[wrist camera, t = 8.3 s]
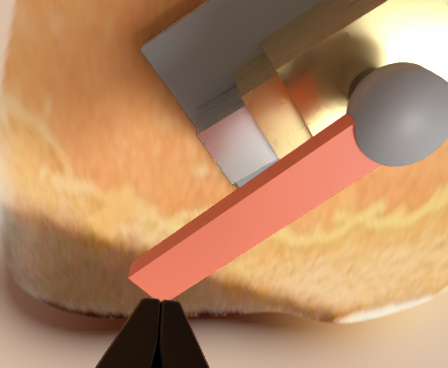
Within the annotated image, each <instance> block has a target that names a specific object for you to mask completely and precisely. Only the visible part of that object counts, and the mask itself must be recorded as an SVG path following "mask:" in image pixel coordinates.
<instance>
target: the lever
mask: <svg viewBox="0 0 448 368" xmlns="http://www.w3.org/2000/svg"><path fill="white" fill-rule="evenodd" d="M447 137H448V81H447V80H445V79H444V78H443V77H441V76H439V75H438V74H436V73H434V72H432V71H430V70H429V69H427V68H425V67H423V66H421V65H419V64H416V63H412V62H395V63H391V64H387V65H385V66H382V67H380V68H378V69H376V70H374V71H373V72H371V73H370V74H369V75H367V76H366V77H365V78H364V79H363V80H362V81H361V82H360V83H359V84H358V86H357V87H356V88H355V90H354V91H353V93H352V95H351V97H350V99H349V102H348V104H347V109H346V114H345V115H343V116H342V117H340V118H339V119H337V120H336V121H334V122H333V123H332V124H330V125H329V126H327V127H326V128H324V129H323V130H322V131H320V132H319V133H317V134H316V135H314V136H313V137H311V138H310V139H309V140H307V141H306V142H304V143H303V144H301V145H300V146H299V147H297V148H296V149H294V150H293V151H291V152H290V153H288V154H287V155H286V156H284V157H283V158H281V159H280V160H278V161H277V162H276V163H274V164H273V165H271V166H270V167H268V168H267V169H265V170H264V171H263V172H261V173H260V174H258V175H257V176H255V177H254V178H253V179H251V180H250V181H248V182H247V183H245V184H244V185H242V186H241V187H240V188H238V189H237V190H235V191H234V192H232V193H231V194H230V195H228V196H227V197H225V198H224V199H222V200H221V201H219V202H218V203H217V204H215V205H214V206H212V207H211V208H209V209H208V210H207V211H205V212H204V213H202V214H201V215H199V216H198V217H196V218H195V219H194V220H192V221H191V222H189V223H188V224H186V225H185V226H184V227H182V228H181V229H179V230H178V231H176V232H175V233H173V234H172V235H171V236H169V237H168V238H166V239H165V240H163V241H162V242H161V243H159V244H158V245H156V246H155V247H153V248H152V249H150V250H149V251H148V252H146V253H145V254H143V255H142V256H140V257H139V258H138V259H136V260H135V261H133V262H132V263H131V266H130V271H129V276H128V278H129V279H130V280H131V281H133V282H134V283H135V284H136V285H138V286H139V287H140V288H141V289H143V290H144V291H145V292H147V293H148V294H149V295H150V296H152V297H153V298H157V299H160V301H162V300H164V299H166V300H171V299H173V298H174V297H176V296H177V295H179V294H180V293H182V292H184V291H185V290H187V289H188V288H190V287H191V286H193V285H194V284H196V283H198V282H199V281H201V280H202V279H204V278H205V277H207V276H209V275H210V274H212V273H213V272H215V271H216V270H218V269H219V268H221V267H223V266H224V265H226V264H227V263H229V262H230V261H232V260H234V259H235V258H237V257H238V256H240V255H241V254H243V253H244V252H246V251H248V250H249V249H251V248H252V247H254V246H255V245H257V244H259V243H260V242H262V241H263V240H265V239H266V238H268V237H269V236H271V235H273V234H274V233H276V232H277V231H279V230H280V229H282V228H284V227H285V226H287V225H288V224H290V223H291V222H293V221H294V220H296V219H298V218H299V217H301V216H302V215H304V214H305V213H307V212H309V211H310V210H312V209H313V208H315V207H316V206H318V205H319V204H321V203H323V202H324V201H326V200H327V199H329V198H330V197H332V196H334V195H335V194H337V193H338V192H340V191H341V190H343V189H344V188H346V187H348V186H349V185H351V184H352V183H354V182H355V181H357V180H359V179H360V178H362V177H363V176H365V175H366V174H368V173H370V172H371V171H373V170H374V169H376V168H377V167H379V166H380V165H384V166H396V167H397V166H405V165H409V164H412V163H415V162H418V161H420V160H422V159H424V158H426V157H427V156H429V155H430V154H432V153H433V152H434V151H435V150H437V149H438V148H439V147H440V146H441V145H442V144H443V143H444V141H445V140H446V139H447Z"/></svg>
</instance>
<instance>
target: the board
mask: <svg viewBox="0 0 448 368" xmlns="http://www.w3.org/2000/svg"><path fill="white" fill-rule="evenodd" d="M322 1H323V0H206V1H205V2H203V3H202V4H200V5H199V6H198V7H196V8H195V9H193V10H192V11H190V12H189V13H187V14H186V15H185V16H183V17H182V18H180V19H179V20H177V21H176V22H174V23H173V24H172V25H170V26H169V27H167V28H166V29H164V30H163V31H162V32H160V33H159V34H157V35H156V36H154V37H153V38H151V39H150V40H149V41H147V42H146V43H144V44H143V45H142V47H141V49H140V51H141V52H142V53H143V55H144V56H145V58H146V59H147V60H148V62H149V63H150V64H151V66H152V67H153V69H154V70H155V71H156V73H157V74H158V76H159V77H160V78H161V80H162V81H163V83H164V84H165V85H166V87H167V88H168V90H169V91H170V92H171V94H172V95H173V96H174V98H175V99H176V101H177V102H178V103H179V105H180V106H181V108H182V109H183V110H184V112H185V113H186V115H187V116H188V117H189V119H190V120H191V122H192V123H193V124H194V126H195V127H196V111H197V110H199V109H200V108H202V107H203V106H205V105H207V104H208V103H210V102H211V101H213V100H215V99H216V98H218V97H219V96H221V95H223V94H224V93H226V92H227V91H229V90H231V89H232V88H234V87H235V86H237V83H236V79H235V76H234V71H235V70H237V69H238V68H240V67H241V66H243V65H245V64H246V63H248V62H249V61H251V60H252V59H254V58H256V57H257V56H259V55H260V54H262V53H263V52H264V51H263V49H262V47H261V45H260V43H259V42H260V41H261V40H263V39H264V38H266V37H267V36H269V35H270V34H272V33H273V32H275V31H277V30H278V29H280V28H281V27H283V26H284V25H286V24H287V23H289V22H291V21H292V20H294V19H295V18H297V17H298V16H300V15H301V14H303V13H304V12H306V11H308V10H309V9H311V8H312V7H314V6H315V5H317V4H318V3H320V2H322ZM278 160H280V159H279V158H278V159H276V160H274V161H273V162H271V163H269V164H267V165H265V166H264V167H262V168H260V169H258V170H257V171H255V172H253V173H251V174H250V175H248V176H246V177H244V178H242V179H241V180H239V181H237V182H235V183H236V184H237V186H238V187H239V188H240V187H241V186H242V185H244V184H245V183H247V182H248V181H250V180H251V179H253V178H254V177H255V176H257V175H258V174H260V173H261V172H263V171H264V170H265V169H267V168H268V167H270V166H271V165H273V164H274V163H276V162H277V161H278Z"/></svg>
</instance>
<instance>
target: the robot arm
mask: <svg viewBox="0 0 448 368" xmlns="http://www.w3.org/2000/svg"><path fill="white" fill-rule="evenodd" d="M95 368H209V365H208V363H207V361H206V359H205V356H204V354H203V352H202V350H201V348H200V346H199V343H198V341H197V339H196V337H195V334H194V332H193V330H192V328H191V325H190V323H189V321H188V319H187V316H186V314H185V312H184V310H183V308H182V305H181V303H180V302H179V301H174V300H166V299H164V300H162V301H160V299H157V298H149V297H143V298H142V299H141V300H140V301H139V303H138V304H137V306H136V307H135V309H134V310H133V312H132V313H131V315H130V316H129V318H128V319H127V321H126V322H125V324H124V325H123V327H122V328H121V330H120V331H119V333H118V334H117V336H116V337H115V339H114V340H113V342H112V343H111V345H110V346H109V348H108V349H107V351H106V352H105V354H104V355H103V357H102V358H101V360H100V361H99V363H98V364H97V366H96V367H95Z"/></svg>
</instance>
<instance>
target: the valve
mask: <svg viewBox="0 0 448 368" xmlns="http://www.w3.org/2000/svg"><path fill="white" fill-rule="evenodd" d="M259 43H260V45H261V47H262V49H263V51H264V52H263V53H262V54H260V55H259V56H257V57H256V58H254V59H252V60H251V61H249V62H248V63H246V64H245V65H243V66H241V67H240V68H238V69H237V70H235V71H234V76H235V79H236V83H237V86H235V87H234V88H232V89H231V90H229V91H227V92H226V93H224V94H223V95H221V96H219V97H218V98H216V99H215V100H213V101H211V102H210V103H208V104H207V105H205V106H203V107H202V108H200V109H199V110H197V111H196V135H197V137H198V138H199V140H200V141H201V142H202V144H203V145H204V146H205V148H206V149H207V151H208V152H209V153H210V155H211V156H212V158H213V159H214V160H215V162H216V163H217V164H218V166H219V167H220V169H221V170H222V171H223V173H224V174H225V175H226V177H227V178H228V180H229V181H230V182H231V184H234V183H235V182H237V181H239V180H241V179H242V178H244V177H246V176H248V175H250V174H251V173H253V172H255V171H257V170H258V169H260V168H262V167H264V166H265V165H267V164H269V163H271V162H273V161H274V160H276V159H278V158H279V159H281V158H283V157H284V156H286V155H287V154H288V153H290V152H291V151H293V150H294V149H296V148H297V147H299V146H300V145H301V144H303V143H304V142H306V141H307V140H309V139H310V138H311V137H313V136H314V135H316V134H317V133H319V132H320V131H322V130H323V129H324V128H326V127H327V126H329V125H330V124H332V123H333V122H334V121H336V120H337V119H339V118H340V117H342V116H343V115H345V114H346V109H347V104H348V102H349V99H350V97H351V95H352V93H353V91H354V90H355V88H356V87H357V86H358V84H359V83H360V82H361V81H362V80H363V79H364V78H365V77H366V76H367V75H369V74H370V73H371V72H373V71H374V70H376V69H378V68H380V67H382V66H385V65H387V64H391V63H395V62H412V63H416V64H419V65H421V66H423V67H425V68H427V69H429V70H430V71H432V72H434V73H436V74H438V75H439V76H441V77H443V78H444V79H445V80H447V81H448V0H323V1H322V2H320V3H318V4H317V5H315V6H314V7H312V8H311V9H309V10H308V11H306V12H304V13H303V14H301V15H300V16H298V17H297V18H295V19H294V20H292V21H291V22H289V23H287V24H286V25H284V26H283V27H281V28H280V29H278V30H277V31H275V32H273V33H272V34H270V35H269V36H267V37H266V38H264V39H263V40H261V41H260V42H259Z"/></svg>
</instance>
